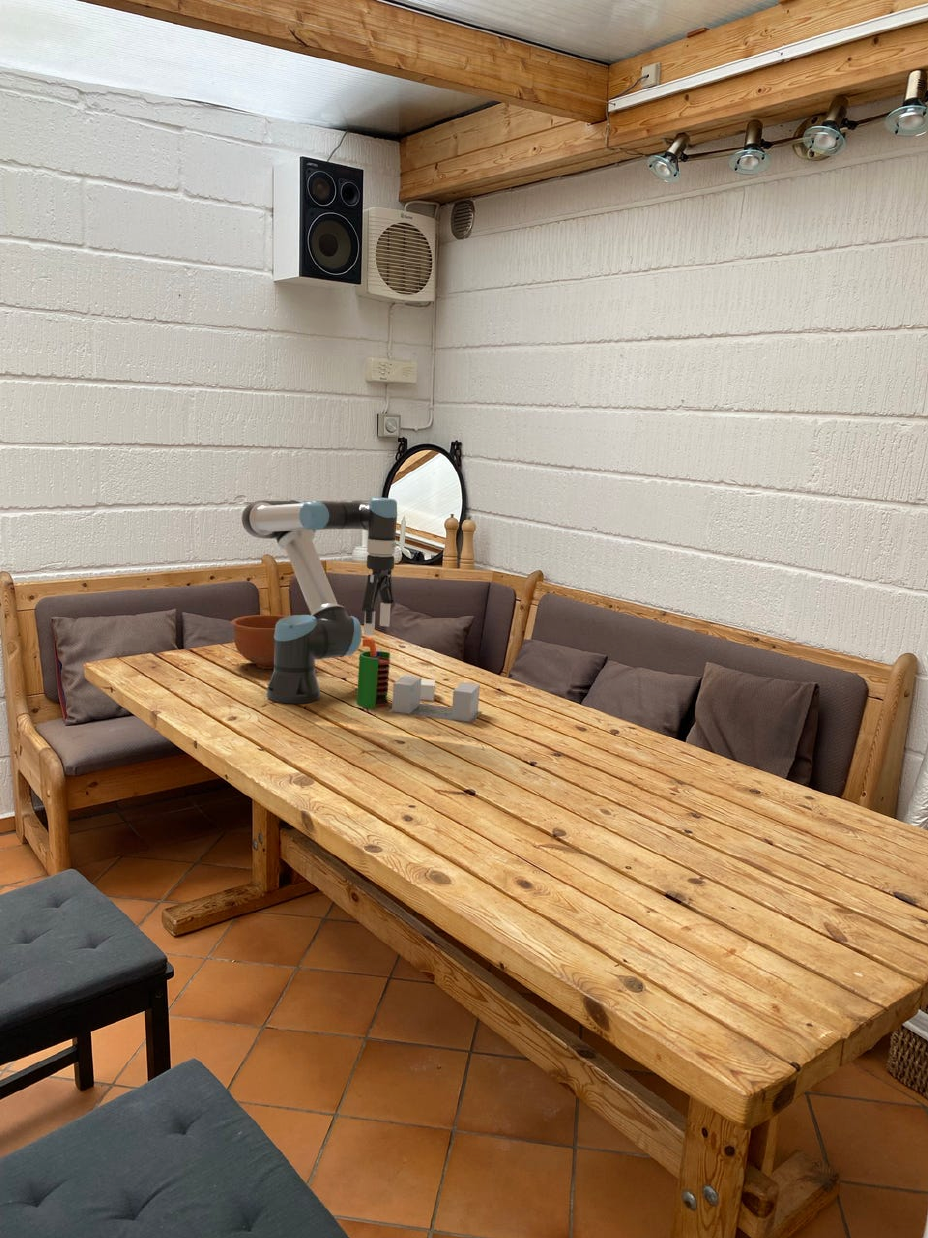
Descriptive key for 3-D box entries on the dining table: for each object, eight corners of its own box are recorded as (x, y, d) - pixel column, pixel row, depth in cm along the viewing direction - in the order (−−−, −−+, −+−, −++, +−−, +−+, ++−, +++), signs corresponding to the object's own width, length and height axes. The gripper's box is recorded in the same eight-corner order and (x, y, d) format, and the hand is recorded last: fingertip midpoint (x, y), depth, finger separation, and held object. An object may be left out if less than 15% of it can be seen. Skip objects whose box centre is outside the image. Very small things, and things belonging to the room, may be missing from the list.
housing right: (451, 719, 259) (453, 690, 257) (460, 709, 268) (462, 682, 267) (469, 721, 258) (471, 692, 256) (478, 712, 267) (479, 684, 266)
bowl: (301, 677, 299) (302, 630, 296) (221, 672, 299) (222, 625, 296) (314, 660, 323) (315, 616, 320) (240, 655, 323) (241, 611, 320)
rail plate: (387, 717, 262) (387, 711, 262) (400, 706, 274) (400, 701, 274) (471, 728, 257) (472, 723, 256) (481, 716, 268) (482, 711, 268)
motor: (386, 714, 265) (389, 644, 261) (354, 712, 265) (357, 642, 261) (389, 704, 275) (393, 636, 271) (358, 702, 275) (361, 634, 271)
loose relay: (416, 704, 277) (417, 684, 276) (417, 698, 284) (418, 678, 283) (433, 705, 277) (434, 685, 276) (434, 699, 284) (435, 679, 283)
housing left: (392, 711, 263) (393, 683, 261) (403, 702, 272) (404, 675, 271) (409, 713, 262) (411, 685, 260) (420, 704, 271) (421, 677, 270)
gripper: (379, 561, 249) (375, 640, 253) (407, 551, 273) (402, 623, 277) (352, 558, 251) (348, 637, 255) (382, 548, 275) (378, 621, 279)
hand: (376, 630), depth 266 cm, fingers open, 13 cm apart
